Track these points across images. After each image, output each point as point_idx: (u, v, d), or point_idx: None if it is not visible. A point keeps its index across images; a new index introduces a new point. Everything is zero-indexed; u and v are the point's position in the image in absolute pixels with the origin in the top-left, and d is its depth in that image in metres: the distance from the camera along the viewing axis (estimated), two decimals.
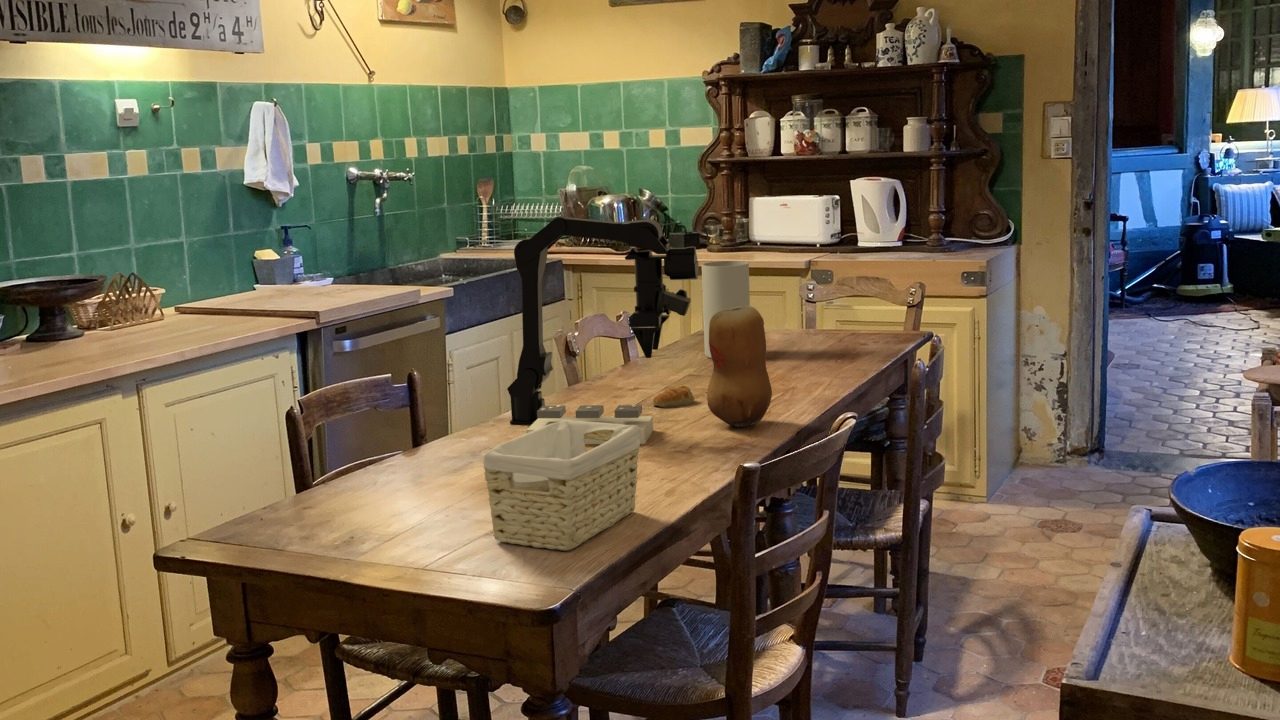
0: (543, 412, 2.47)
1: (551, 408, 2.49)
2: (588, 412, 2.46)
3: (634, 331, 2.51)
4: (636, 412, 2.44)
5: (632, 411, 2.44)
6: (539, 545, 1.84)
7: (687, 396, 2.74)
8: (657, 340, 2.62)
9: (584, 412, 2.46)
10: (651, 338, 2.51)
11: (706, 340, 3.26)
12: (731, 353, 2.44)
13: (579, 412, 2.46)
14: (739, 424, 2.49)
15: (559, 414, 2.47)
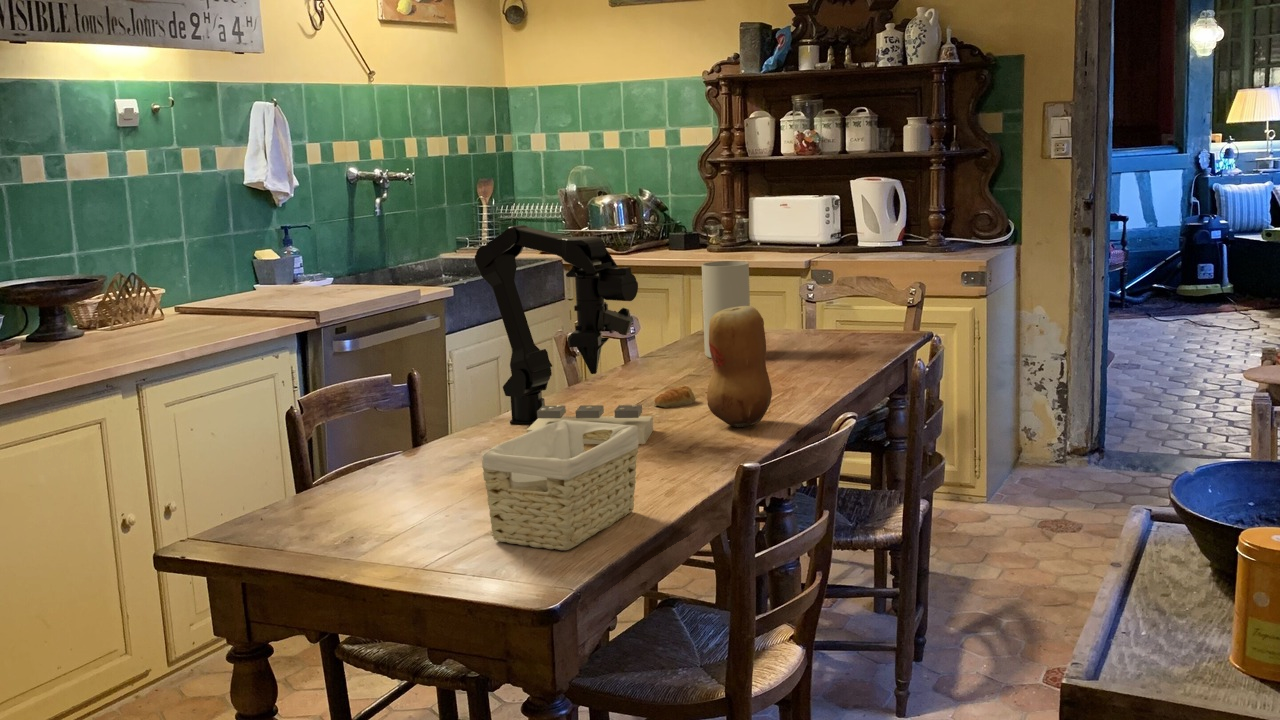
0: (543, 412, 2.47)
1: (551, 408, 2.49)
2: (588, 412, 2.46)
3: (578, 347, 2.50)
4: (636, 412, 2.44)
5: (632, 411, 2.44)
6: (537, 545, 1.84)
7: (689, 397, 2.74)
8: None
9: (584, 412, 2.46)
10: (595, 354, 2.50)
11: (706, 340, 3.26)
12: (731, 353, 2.44)
13: (579, 412, 2.46)
14: (739, 424, 2.49)
15: (559, 414, 2.47)
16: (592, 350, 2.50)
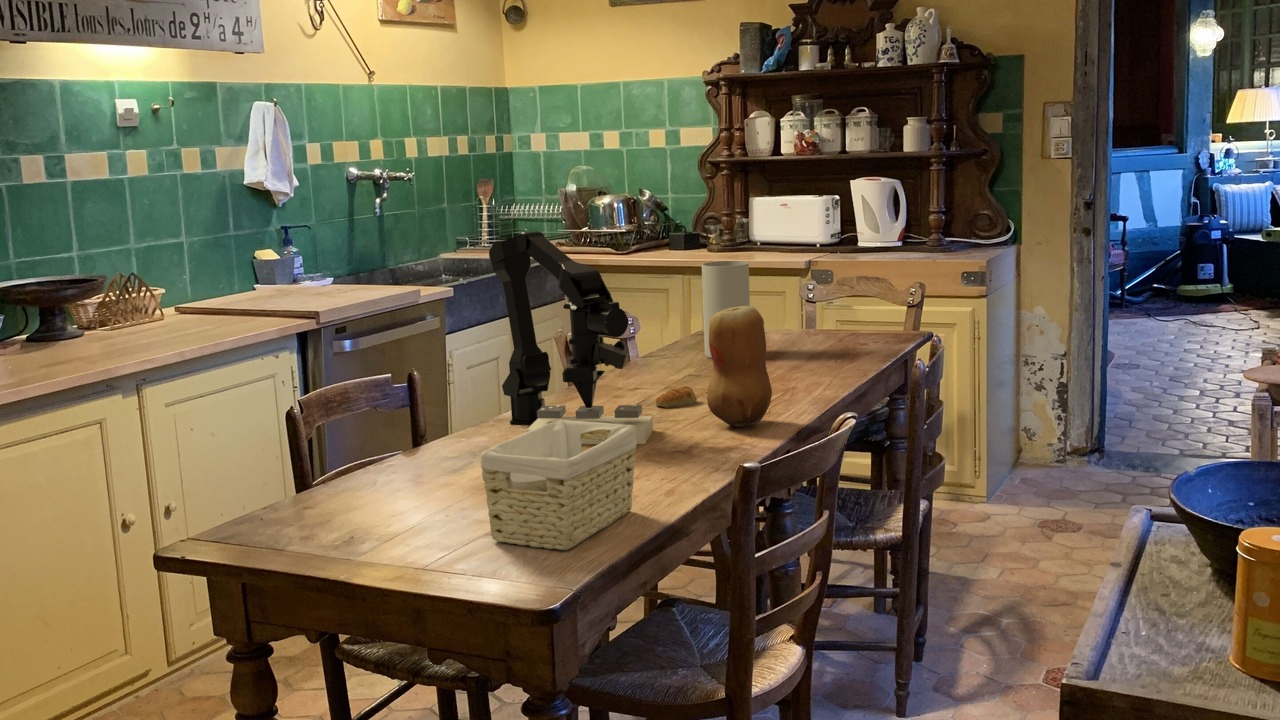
0: (543, 412, 2.47)
1: (551, 408, 2.49)
2: (588, 412, 2.46)
3: (573, 381, 2.45)
4: (636, 412, 2.44)
5: (632, 411, 2.44)
6: (537, 545, 1.84)
7: (690, 397, 2.74)
8: None
9: (584, 412, 2.46)
10: (591, 388, 2.45)
11: (706, 340, 3.26)
12: (731, 353, 2.44)
13: (579, 412, 2.46)
14: (739, 424, 2.49)
15: (559, 414, 2.47)
16: (587, 384, 2.46)
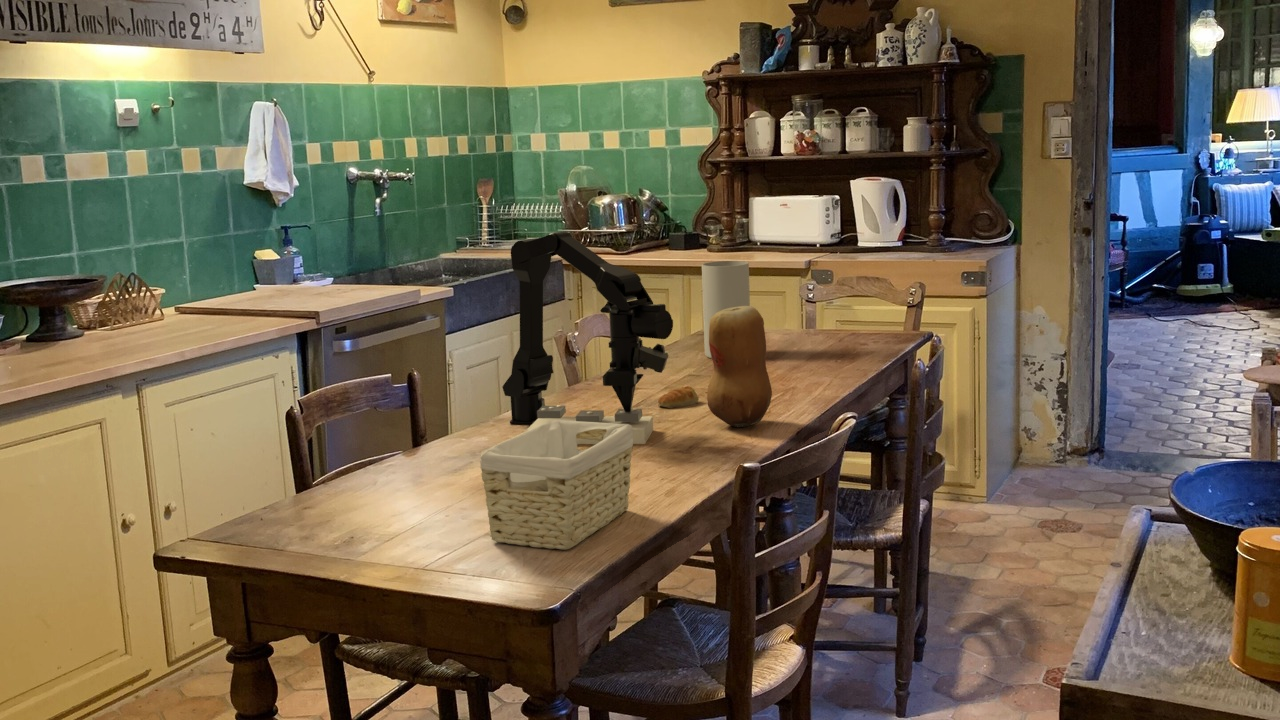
0: (543, 412, 2.47)
1: (551, 408, 2.49)
2: (588, 417, 2.46)
3: None
4: (636, 416, 2.44)
5: (632, 415, 2.44)
6: (537, 545, 1.84)
7: (692, 397, 2.73)
8: None
9: (584, 417, 2.46)
10: (630, 392, 2.44)
11: (706, 340, 3.26)
12: (731, 353, 2.44)
13: (579, 417, 2.46)
14: (739, 424, 2.49)
15: (559, 414, 2.47)
16: (626, 388, 2.44)
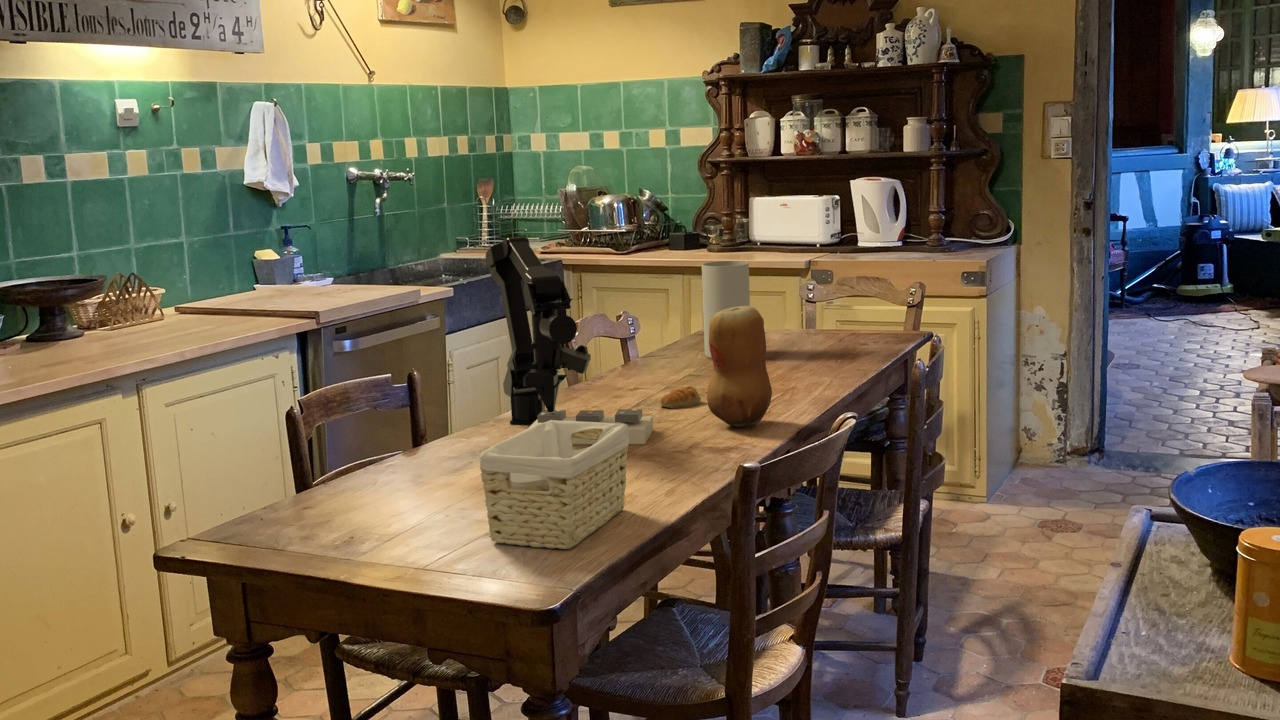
0: (543, 417, 2.47)
1: (551, 413, 2.49)
2: (588, 417, 2.46)
3: None
4: (636, 416, 2.44)
5: (632, 415, 2.44)
6: (538, 545, 1.84)
7: (694, 397, 2.73)
8: None
9: (584, 417, 2.46)
10: (552, 392, 2.47)
11: (706, 340, 3.26)
12: (731, 353, 2.44)
13: (579, 417, 2.46)
14: (739, 424, 2.49)
15: (559, 419, 2.47)
16: (549, 388, 2.47)
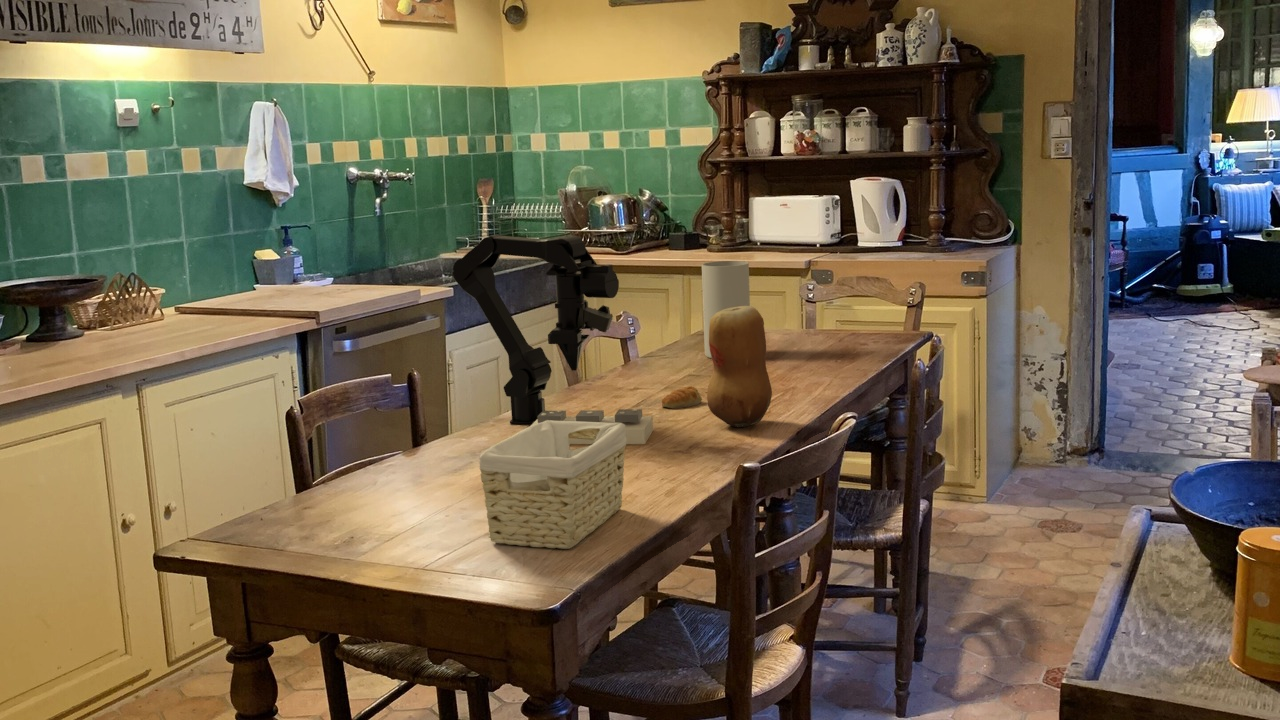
0: (543, 417, 2.47)
1: (551, 413, 2.49)
2: (588, 417, 2.46)
3: (559, 344, 2.54)
4: (636, 416, 2.44)
5: (632, 415, 2.44)
6: (539, 545, 1.84)
7: (696, 397, 2.73)
8: None
9: (584, 417, 2.46)
10: (576, 351, 2.55)
11: (706, 340, 3.26)
12: (731, 353, 2.44)
13: (579, 417, 2.46)
14: (739, 424, 2.49)
15: (559, 419, 2.47)
16: (572, 347, 2.55)
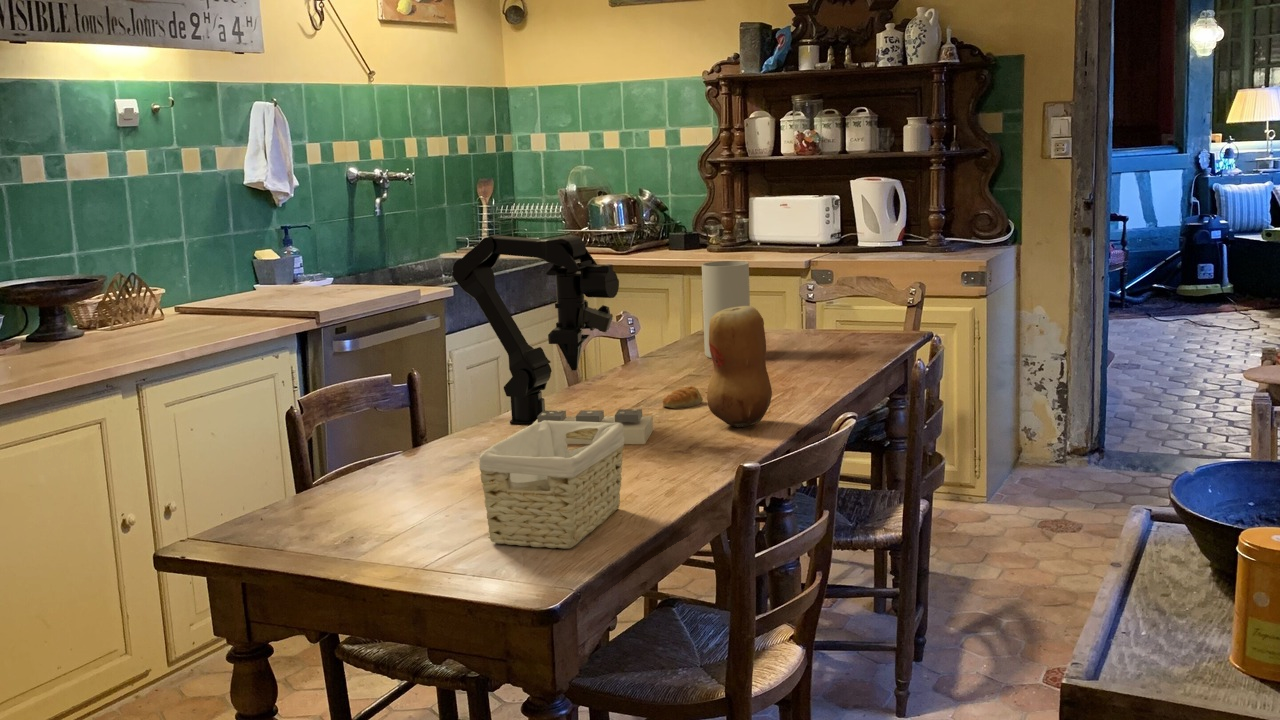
0: (543, 417, 2.47)
1: (551, 413, 2.49)
2: (588, 417, 2.46)
3: (559, 344, 2.54)
4: (636, 416, 2.44)
5: (632, 415, 2.44)
6: (539, 545, 1.84)
7: (697, 397, 2.73)
8: None
9: (584, 417, 2.46)
10: (576, 351, 2.55)
11: (706, 340, 3.26)
12: (731, 353, 2.44)
13: (579, 417, 2.46)
14: (739, 424, 2.49)
15: (559, 419, 2.47)
16: (573, 347, 2.55)
